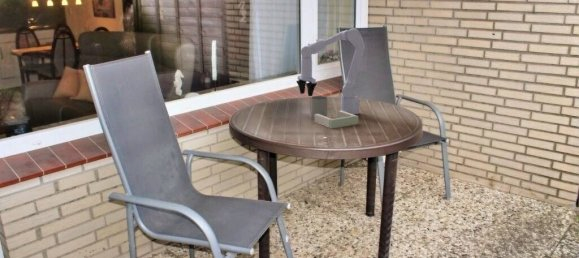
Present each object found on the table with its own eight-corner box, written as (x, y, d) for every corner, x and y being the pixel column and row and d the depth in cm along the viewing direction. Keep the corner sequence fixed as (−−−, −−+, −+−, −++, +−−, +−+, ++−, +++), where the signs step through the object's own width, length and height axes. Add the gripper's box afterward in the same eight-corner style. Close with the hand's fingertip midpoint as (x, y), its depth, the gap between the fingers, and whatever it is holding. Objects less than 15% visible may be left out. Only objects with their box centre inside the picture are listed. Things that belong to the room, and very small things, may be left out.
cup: (325, 119, 244) (326, 99, 241) (309, 118, 246) (309, 99, 243) (327, 115, 252) (328, 96, 249) (312, 114, 254) (312, 95, 251)
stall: (340, 117, 246) (340, 110, 245) (358, 124, 235) (358, 116, 234) (314, 122, 238) (314, 114, 237) (331, 128, 227) (331, 120, 226)
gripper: (292, 68, 256) (292, 93, 260) (307, 71, 245) (307, 97, 248) (303, 67, 260) (303, 91, 264) (319, 70, 248) (318, 96, 252)
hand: (306, 94), depth 256 cm, fingers open, 7 cm apart
